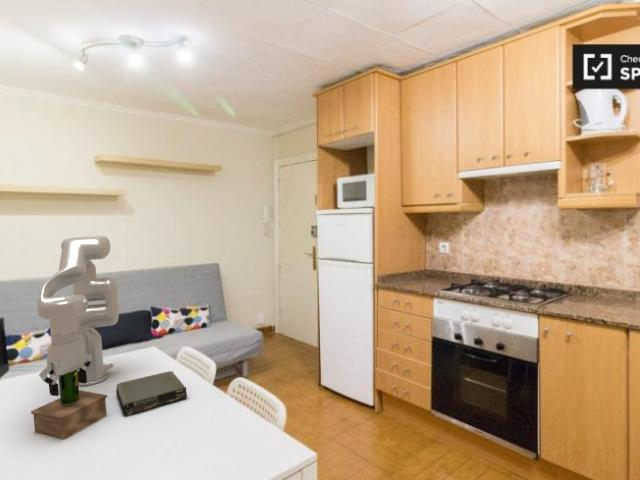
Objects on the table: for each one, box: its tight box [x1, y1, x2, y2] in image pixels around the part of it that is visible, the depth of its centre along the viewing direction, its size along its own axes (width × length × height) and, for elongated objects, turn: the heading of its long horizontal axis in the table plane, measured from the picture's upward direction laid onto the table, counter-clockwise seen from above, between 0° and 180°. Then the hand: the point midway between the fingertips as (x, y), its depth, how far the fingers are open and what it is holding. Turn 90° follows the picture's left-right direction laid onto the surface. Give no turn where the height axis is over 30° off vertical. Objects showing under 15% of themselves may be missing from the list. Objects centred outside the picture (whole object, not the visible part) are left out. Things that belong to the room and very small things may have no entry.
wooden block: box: [30, 389, 108, 440], centre depth 131 cm, size 16×14×7 cm
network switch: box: [115, 370, 187, 417], centre depth 148 cm, size 23×23×5 cm
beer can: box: [57, 367, 80, 406], centre depth 130 cm, size 5×5×12 cm
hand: (69, 388), depth 130 cm, fingers open, 9 cm apart
